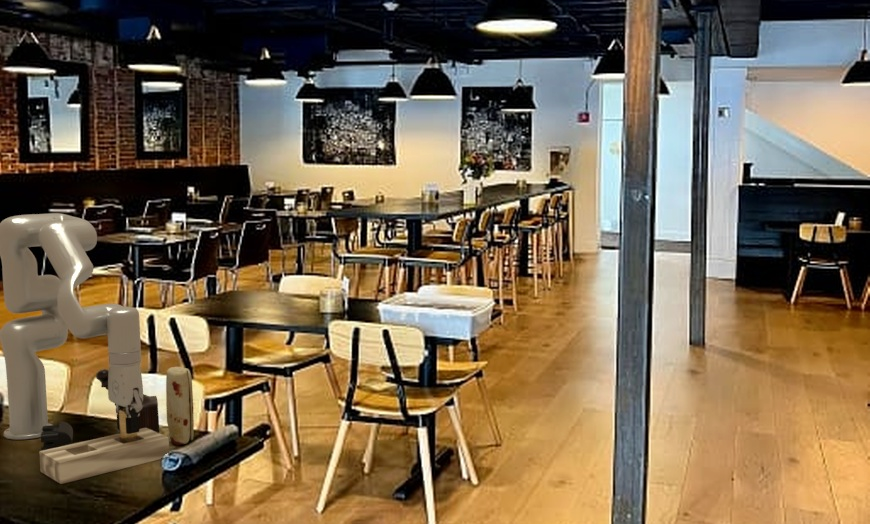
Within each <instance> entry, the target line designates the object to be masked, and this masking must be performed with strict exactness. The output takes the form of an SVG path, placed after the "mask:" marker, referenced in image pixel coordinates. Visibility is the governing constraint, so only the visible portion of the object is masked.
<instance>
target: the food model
mask: <svg viewBox="0 0 870 524" xmlns="http://www.w3.org/2000/svg"><path fill="white" fill-rule="evenodd" d="M165 376H166V379H165V381H166V382H165V383H166V384H165V386H166V387H165V392H166V393H165V396H166V398H165V399H166V401H165V402H166V404H165V405H166V423H167V428H168V435H169V436H168V437H169V439H170V440H171V443H172V444H173V445H177V446H180V445H185V444H188V443H189V441H193V440H194V431H195V426H194V424H195V423H194V422H195V421H194V418H195V417H194V397H193V396H194V393H193V380H192V379H193V378H192V373H191V370H190V369H189V368H186V367H181V366H172V367H169V368H168V369H167V370H166V375H165Z"/></svg>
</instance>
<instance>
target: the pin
mask: <svg viewBox="0 0 870 524" xmlns="http://www.w3.org/2000/svg"><path fill="white" fill-rule="evenodd" d="M132 408H133V407H130V411H131V409H132ZM126 418H127V413H126V408H122V409H119V424H120V442H121V443H123V444H124V443H129V442H133V441H137V432H136V433H131V434H127V433H126Z"/></svg>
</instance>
